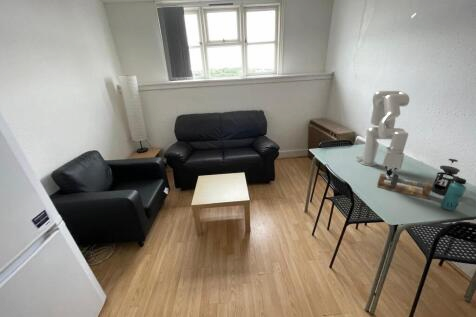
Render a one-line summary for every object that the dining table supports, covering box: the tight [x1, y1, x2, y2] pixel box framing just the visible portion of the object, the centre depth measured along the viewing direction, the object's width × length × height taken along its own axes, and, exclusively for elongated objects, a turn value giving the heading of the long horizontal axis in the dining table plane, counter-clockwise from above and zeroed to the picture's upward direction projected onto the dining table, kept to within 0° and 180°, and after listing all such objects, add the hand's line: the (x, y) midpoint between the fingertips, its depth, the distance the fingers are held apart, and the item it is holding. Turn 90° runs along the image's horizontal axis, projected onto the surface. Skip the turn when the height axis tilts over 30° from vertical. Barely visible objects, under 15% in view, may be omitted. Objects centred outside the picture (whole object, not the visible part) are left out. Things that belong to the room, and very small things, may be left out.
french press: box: [430, 158, 461, 196], centre depth 129 cm, size 12×9×23 cm
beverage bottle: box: [440, 177, 467, 211], centre depth 114 cm, size 6×7×20 cm
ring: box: [390, 171, 400, 188], centre depth 138 cm, size 2×8×8 cm, turn 145°
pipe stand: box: [376, 172, 433, 200], centre depth 136 cm, size 27×10×8 cm, turn 55°
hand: (388, 175), depth 139 cm, fingers closed
